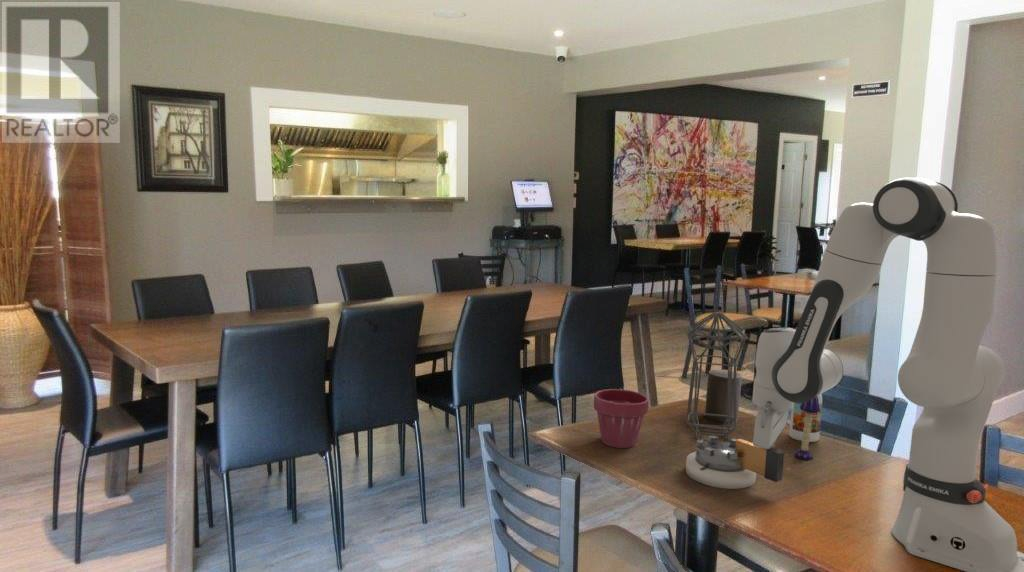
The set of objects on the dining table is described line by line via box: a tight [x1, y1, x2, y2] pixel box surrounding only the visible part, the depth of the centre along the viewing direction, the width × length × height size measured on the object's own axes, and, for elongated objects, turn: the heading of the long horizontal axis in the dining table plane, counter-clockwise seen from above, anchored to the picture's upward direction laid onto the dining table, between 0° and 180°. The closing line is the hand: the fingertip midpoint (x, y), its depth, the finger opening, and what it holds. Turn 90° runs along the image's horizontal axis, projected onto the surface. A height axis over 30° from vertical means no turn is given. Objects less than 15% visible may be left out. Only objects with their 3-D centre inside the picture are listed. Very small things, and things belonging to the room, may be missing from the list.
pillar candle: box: [704, 368, 743, 423], centre depth 209 cm, size 10×10×15 cm
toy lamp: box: [794, 396, 820, 461], centre depth 178 cm, size 5×5×17 cm
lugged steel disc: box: [695, 435, 785, 483], centre depth 162 cm, size 21×12×7 cm, turn 39°
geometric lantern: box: [685, 311, 749, 442], centre depth 191 cm, size 16×16×35 cm
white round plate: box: [685, 451, 757, 490], centre depth 166 cm, size 16×16×3 cm
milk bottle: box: [789, 393, 823, 443], centre depth 193 cm, size 8×8×20 cm
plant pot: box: [593, 388, 649, 449], centre depth 185 cm, size 14×14×13 cm
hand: (768, 455), depth 160 cm, fingers closed
